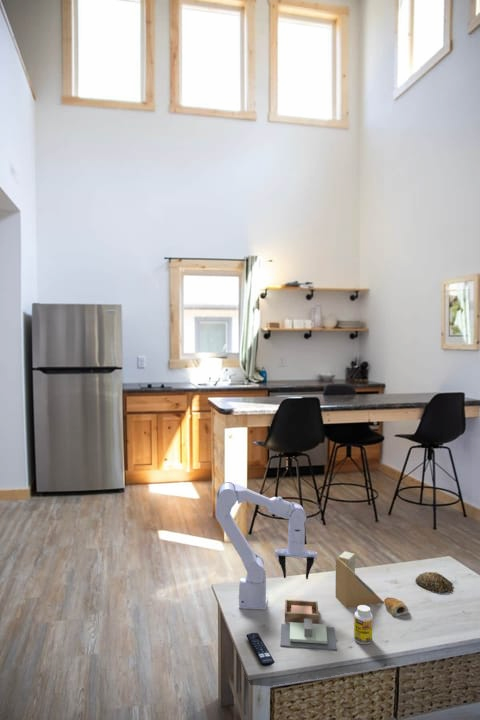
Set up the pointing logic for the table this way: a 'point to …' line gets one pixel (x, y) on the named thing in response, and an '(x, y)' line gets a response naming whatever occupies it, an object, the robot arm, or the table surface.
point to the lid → (308, 632)
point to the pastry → (395, 606)
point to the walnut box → (301, 611)
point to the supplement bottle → (363, 625)
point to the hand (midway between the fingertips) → (295, 577)
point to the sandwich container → (352, 588)
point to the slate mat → (287, 643)
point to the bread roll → (434, 582)
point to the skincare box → (348, 560)
